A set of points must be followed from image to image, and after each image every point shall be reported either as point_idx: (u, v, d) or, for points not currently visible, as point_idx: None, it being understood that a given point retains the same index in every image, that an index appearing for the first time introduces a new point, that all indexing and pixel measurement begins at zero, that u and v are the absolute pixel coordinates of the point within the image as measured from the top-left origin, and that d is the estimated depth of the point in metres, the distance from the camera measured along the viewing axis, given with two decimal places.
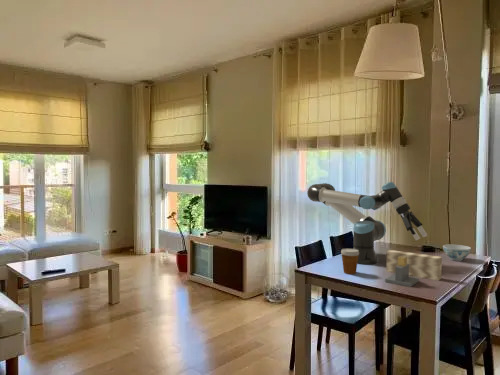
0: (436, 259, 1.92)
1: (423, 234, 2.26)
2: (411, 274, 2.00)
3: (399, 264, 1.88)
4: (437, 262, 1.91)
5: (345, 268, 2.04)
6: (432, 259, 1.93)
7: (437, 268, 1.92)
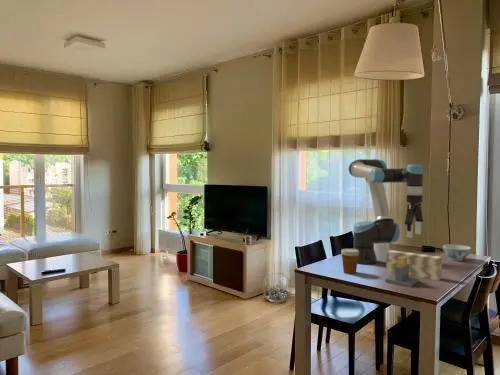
0: (436, 259, 1.92)
1: (417, 231, 2.06)
2: (411, 274, 2.00)
3: (399, 264, 1.88)
4: (437, 262, 1.92)
5: (345, 268, 2.04)
6: (432, 259, 1.93)
7: (437, 268, 1.92)
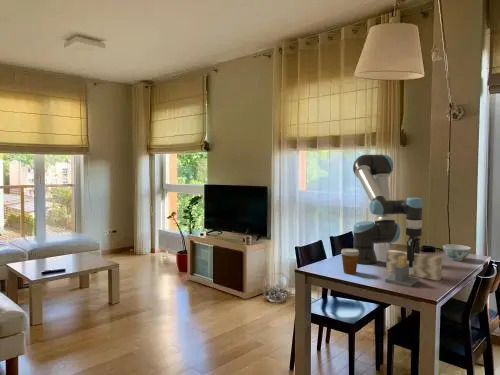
0: (436, 259, 1.92)
1: None
2: (411, 274, 2.00)
3: (399, 264, 1.88)
4: (437, 262, 1.91)
5: (345, 268, 2.04)
6: (432, 259, 1.93)
7: (437, 268, 1.92)
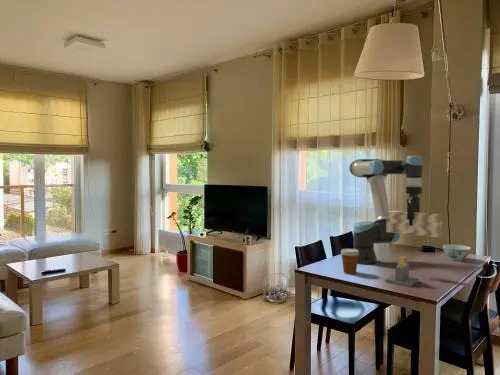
0: (436, 215, 1.90)
1: None
2: (411, 232, 1.98)
3: (399, 264, 1.88)
4: (438, 218, 1.90)
5: (345, 268, 2.04)
6: (432, 216, 1.91)
7: (438, 225, 1.90)
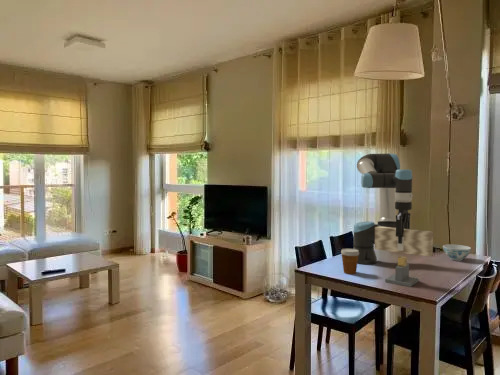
0: (427, 233, 1.79)
1: None
2: (400, 250, 1.87)
3: (399, 264, 1.88)
4: (428, 236, 1.78)
5: (345, 268, 2.04)
6: (423, 233, 1.80)
7: (428, 243, 1.79)
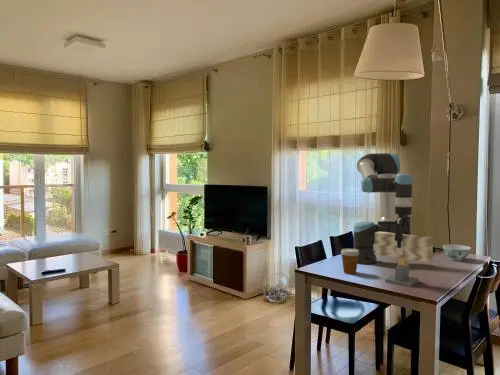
0: (427, 239, 1.79)
1: None
2: (400, 256, 1.87)
3: (399, 264, 1.88)
4: (428, 242, 1.79)
5: (345, 268, 2.04)
6: (422, 239, 1.80)
7: (428, 249, 1.79)
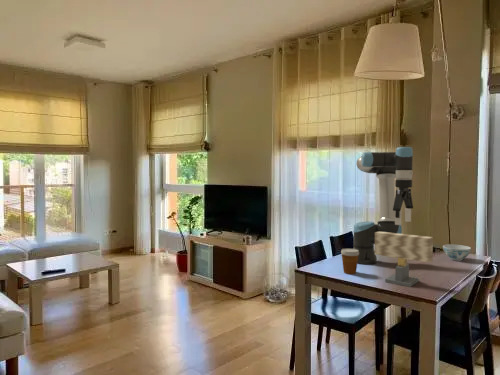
0: (427, 239, 1.79)
1: (407, 218, 1.93)
2: (400, 256, 1.87)
3: (399, 264, 1.88)
4: (428, 242, 1.79)
5: (345, 268, 2.04)
6: (422, 239, 1.80)
7: (428, 249, 1.79)
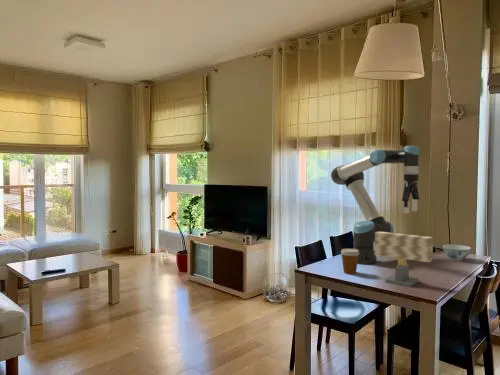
0: (427, 239, 1.79)
1: (413, 208, 2.22)
2: (400, 256, 1.87)
3: (399, 264, 1.88)
4: (428, 242, 1.79)
5: (345, 268, 2.04)
6: (422, 239, 1.80)
7: (428, 249, 1.79)
